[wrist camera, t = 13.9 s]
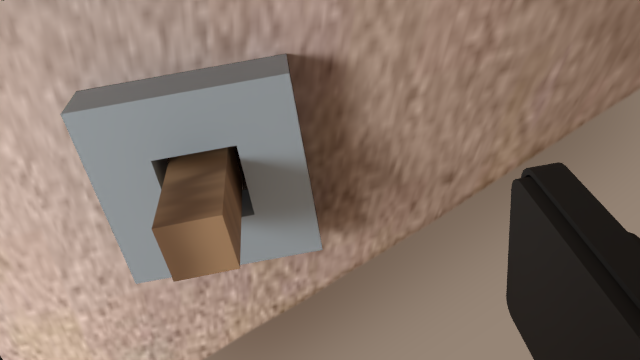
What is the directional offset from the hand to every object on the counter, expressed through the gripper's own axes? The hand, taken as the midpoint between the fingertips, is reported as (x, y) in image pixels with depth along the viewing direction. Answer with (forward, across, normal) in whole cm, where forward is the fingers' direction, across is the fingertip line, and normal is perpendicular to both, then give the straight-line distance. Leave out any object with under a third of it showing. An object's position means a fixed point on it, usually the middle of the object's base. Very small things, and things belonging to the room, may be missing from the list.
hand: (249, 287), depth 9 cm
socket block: (+28, +6, +13) cm, 32 cm away
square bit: (+28, +6, +13) cm, 32 cm away
